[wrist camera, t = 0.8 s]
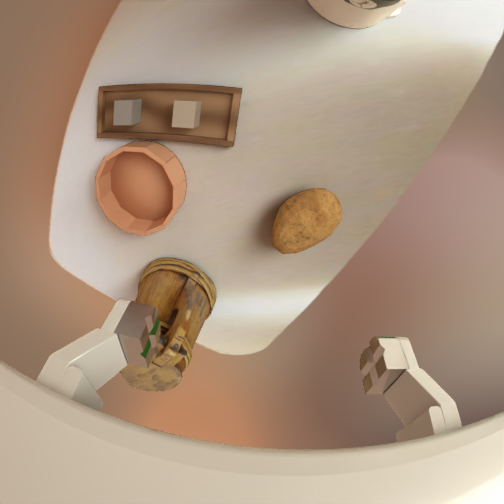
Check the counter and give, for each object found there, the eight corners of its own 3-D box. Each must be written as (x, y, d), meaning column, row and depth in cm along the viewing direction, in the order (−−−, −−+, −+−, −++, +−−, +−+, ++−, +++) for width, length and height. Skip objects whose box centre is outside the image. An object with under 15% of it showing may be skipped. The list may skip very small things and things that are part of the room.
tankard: (134, 292, 65) (92, 372, 44) (169, 224, 54) (113, 313, 33) (194, 326, 70) (171, 410, 49) (244, 270, 58) (228, 371, 37)
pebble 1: (124, 99, 39) (114, 100, 36) (141, 98, 39) (132, 100, 36) (123, 122, 42) (113, 125, 39) (140, 122, 42) (131, 125, 39)
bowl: (109, 139, 44) (93, 145, 40) (189, 143, 44) (179, 150, 40) (112, 215, 53) (100, 227, 49) (184, 226, 54) (176, 240, 49)
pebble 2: (181, 99, 40) (174, 100, 37) (201, 100, 40) (196, 101, 37) (178, 124, 42) (171, 126, 39) (199, 125, 42) (193, 128, 39)
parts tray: (104, 86, 38) (99, 86, 37) (242, 88, 39) (240, 88, 37) (102, 135, 44) (97, 137, 42) (233, 145, 44) (232, 147, 43)
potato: (257, 217, 51) (254, 239, 45) (313, 167, 45) (320, 181, 39) (292, 249, 55) (294, 274, 48) (347, 205, 49) (358, 225, 42)
